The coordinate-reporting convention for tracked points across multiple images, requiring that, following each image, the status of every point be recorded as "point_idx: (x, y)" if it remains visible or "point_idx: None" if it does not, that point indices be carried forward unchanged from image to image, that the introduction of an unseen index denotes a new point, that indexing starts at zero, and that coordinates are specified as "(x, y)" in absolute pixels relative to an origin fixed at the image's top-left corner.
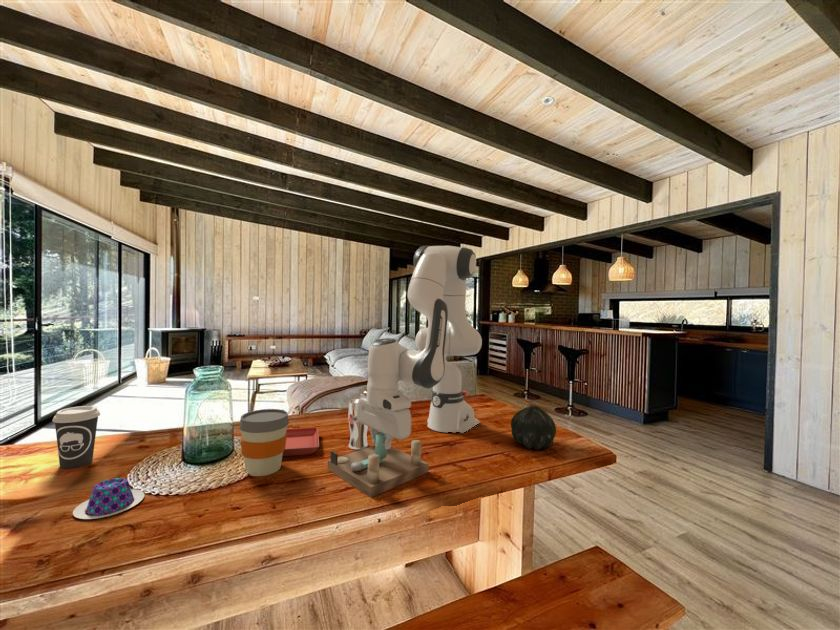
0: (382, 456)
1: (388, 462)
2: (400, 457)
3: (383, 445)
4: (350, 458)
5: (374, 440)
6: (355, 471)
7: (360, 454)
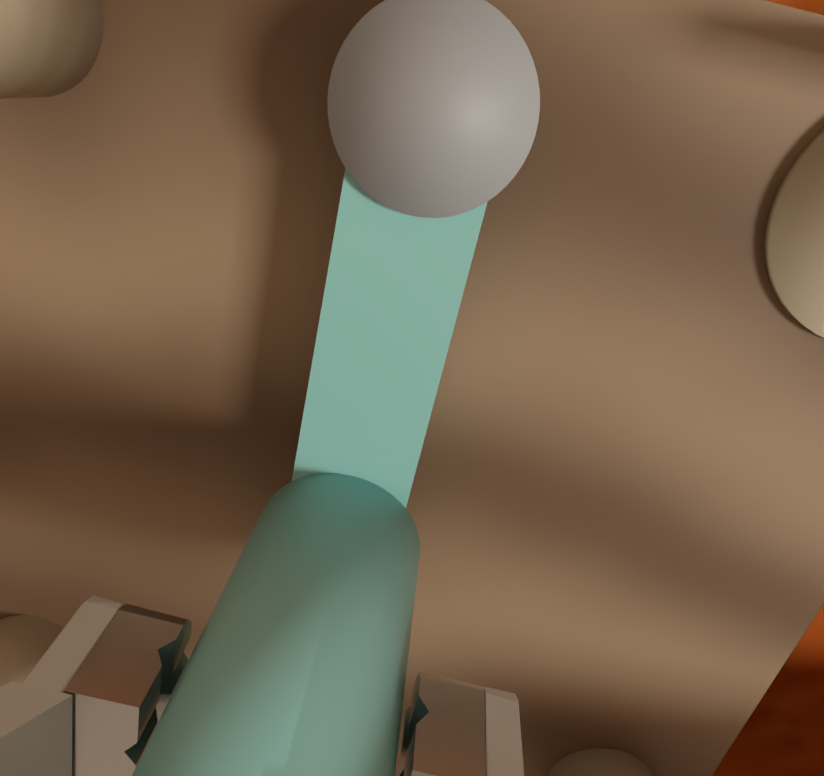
0: (259, 523)
1: None
2: None
3: (144, 645)
4: (787, 370)
5: (433, 726)
6: None
7: (723, 533)
